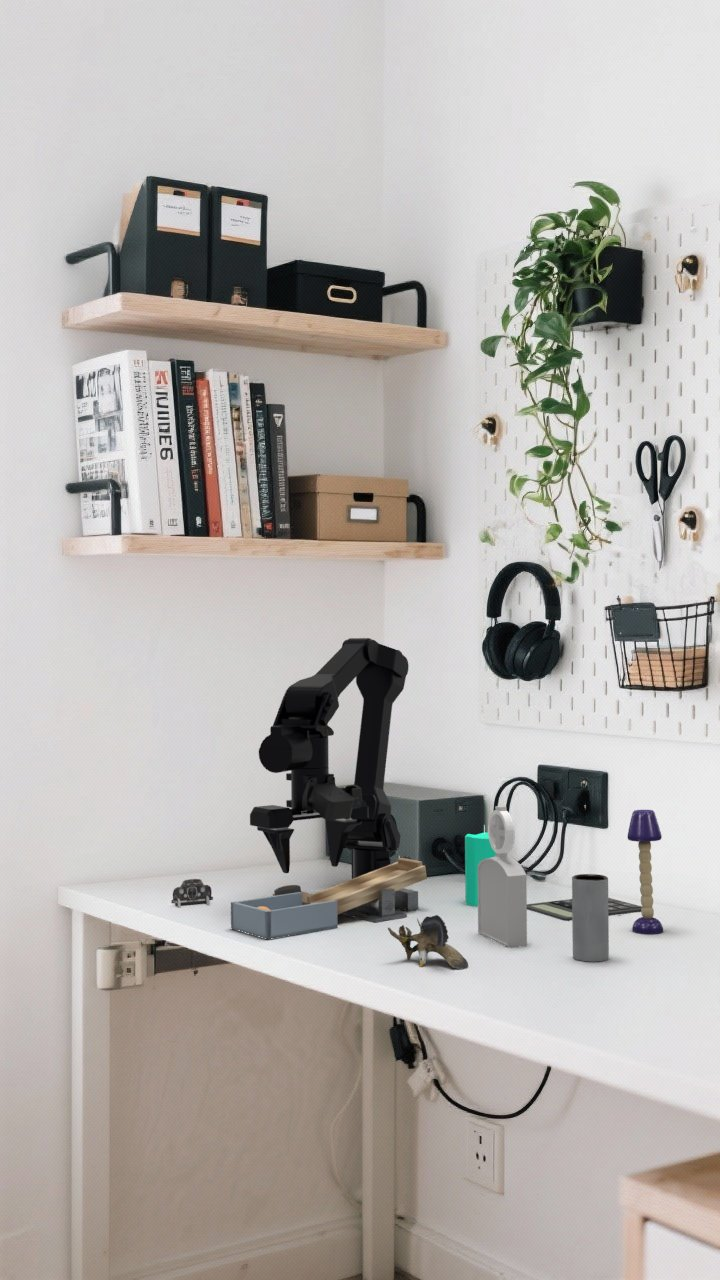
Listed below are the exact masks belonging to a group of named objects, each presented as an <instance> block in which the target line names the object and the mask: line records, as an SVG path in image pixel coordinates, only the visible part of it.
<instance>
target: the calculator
mask: <svg viewBox="0 0 720 1280" xmlns="http://www.w3.org/2000/svg"><path fill="white" fill-rule="evenodd" d="M641 909H642V905H637V904H634V903H630V902H625V901H623V900H619V899H614V898H612V897H608V916H609V917H610V916H616V915H617V916H618V915H625V914H633V913H641ZM527 911H532V912H535V913H538V914H541V915H544V916H548V917H551V918H555V919H558V920H561V921H564V922H569V921H572V898H570V899H568V898H567V899H560V900H554V901H553V900H552V901H545V902H544V901H543V902H536V903H527Z"/></svg>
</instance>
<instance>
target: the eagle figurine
mask: <svg viewBox="0 0 720 1280" xmlns="http://www.w3.org/2000/svg"><path fill="white" fill-rule="evenodd" d="M416 920H417V921H416V922H417V924H418V926H419V928H420V932H418V933H415V934H412V933H413V931H412V930H410V928H409V927H408V926H407V927H406V926H404V925H401V926H400V927H398V933H396V932H395V931H393V930H392V928H391V927H387V930H388V932H389V933H390V936H391V937H393V938H395V939H396V940H398V941H399V943H401V945H402V947H403V948H404V950H405V951H404V952H405V953H406V957H407V958H406V959H407V960H410V959H411V957H412V955H413V954H414V953H415V952H418V957H419V966H418V967H419V968H422V967H423V966H424V964H426V963H427V959H428V955H429V953H431V952H432V953H437V954H438V955H440V956H441V957H442V958H443V959H444V960H445V961H446V962H447V963H448V965H449V966H450V967H451V968H452V969H456V970H465V969H468V967H469V963H468V961H467V959H466V958H465V957H464V956H463V955H462V954H461V953H460V952H459V951H458V950H457V949H456V948H454V947H453V946H452V945H450V944H448V940H449V935H448V933H449V931H448V929H447V925H446V923H445V921H444V920H443V919H442V917H441V916H439V915H438V914H435V915H434V916H433V915H432V916H425V918H424V919H422V921H421V920H420V919H419V918H416ZM411 942H416V943H417V944H415V945H414V946H413V947H411V944H412V943H411Z"/></svg>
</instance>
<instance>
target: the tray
mask: <svg viewBox="0 0 720 1280" xmlns="http://www.w3.org/2000/svg"><path fill="white" fill-rule="evenodd" d="M302 892H303V891H302ZM302 892H297V893H290V894H283V895H277V896H273V895H270V896H264V897H258V898H257V897H256V898H250V899H245V900H238V901H233V902H231V901H230V929H231V928H232V929H235V930H240V931H243V932H246V933H249V934H253V935H256V936H260V937H263V938H266V939H270V940H272V939H271V938H276V939H278V938H277V937H282V938H284V937H283V936H287V937H289V936H288V935H293V936H296V935H295V934H299V935H303V934H302V933H305V934H309V933H308V932H310V933H315V932H322V931H328V930H332V929H337V928H338V914H337V901H336V900H333V901H327V902H321V903H314V904H308V905H302ZM260 906H264V907H267V908H269V909H270V911H267V910H264V909H260V908H257V907H260ZM232 929H231V930H232ZM235 930H234V931H235ZM249 934H248V935H249ZM256 936H255V937H256ZM263 938H262V939H263ZM266 939H265V940H266Z"/></svg>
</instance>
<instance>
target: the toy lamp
mask: <svg viewBox="0 0 720 1280" xmlns="http://www.w3.org/2000/svg"><path fill="white" fill-rule="evenodd" d="M627 840H628V841H631V842H637V845H638V846H637V847H638V850H639V852H638V859H639V865H638V870H639V872H640V874H639V882H640V887H639V891H640V894H641V896H640V904H641V905H640V906H642V909H641V912H640V913H641V917H639V918H637V919H636V920H634V921H633V924H632V928H631V931H632V932H634V933H636V934H643V935H644V934H645V935H653V934H660V933H662V932H664V926H663V924H662V922H661V921H660V920H659V919H657V918H656V917H654V915H655V912H654V907H653V905H654V897H653V893H654V889H653V885H652V882H653V876H652V863H651V861H652V853H651V849H652V843H651V842H658V841H661V840H662V833H661V830H660V826H659V821H658V819H657V816H656V812H655V811H654V810H652V809H636V810H635V809H634V811H633V812H632V814H631V817H630V822H629V827H628V832H627Z"/></svg>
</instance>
